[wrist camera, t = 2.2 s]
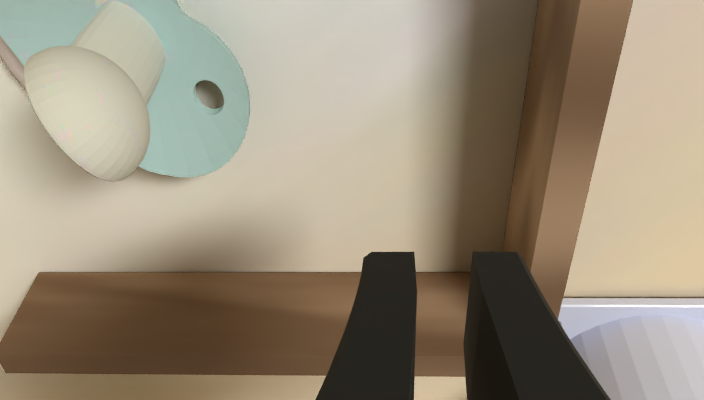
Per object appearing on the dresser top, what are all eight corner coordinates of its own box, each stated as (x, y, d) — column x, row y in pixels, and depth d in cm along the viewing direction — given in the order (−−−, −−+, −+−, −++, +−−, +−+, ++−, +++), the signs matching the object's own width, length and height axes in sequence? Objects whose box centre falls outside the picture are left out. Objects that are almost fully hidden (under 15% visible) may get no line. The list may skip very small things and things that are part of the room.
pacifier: (127, 171, 21) (287, 94, 19) (46, 330, 16) (246, 252, 14) (-68, -33, 17) (105, -160, 15) (-252, 100, 12) (-36, -59, 10)
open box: (525, 292, 23) (544, 377, 21) (48, 292, 24) (5, 373, 22) (684, -574, 11) (785, -648, 8) (-331, -507, 12) (-550, -554, 9)
